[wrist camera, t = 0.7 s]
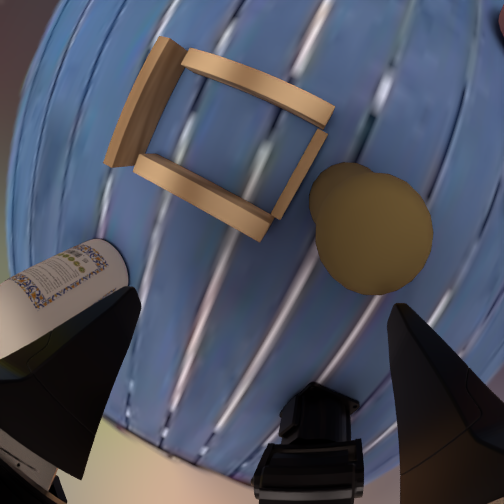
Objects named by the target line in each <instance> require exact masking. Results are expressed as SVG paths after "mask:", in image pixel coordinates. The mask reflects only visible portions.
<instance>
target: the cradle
mask: <svg viewBox="0 0 504 504" xmlns="http://www.w3.org/2000/svg"><path fill="white" fill-rule="evenodd" d="M185 67H186V68H187V69H189V70H190V71H192V72H193V73H196V74H199V75H202V76H205V77H207V78H210V79H213V80H216V81H218V82H221V83H224V84H226V85H229V86H232V87H234V88H237V89H239V90H241V91H244V92H246V93H249V94H251V95H253V96H256V97H258V98H260V99H262V100H265V101H267V102H269V103H271V104H273V105H276V106H278V107H280V108H282V109H284V110H286V111H288V112H290V113H292V114H294V115H296V116H298V117H300V118H302V119H304V120H306V121H308V122H310V123H312V124H313V125H315V126H317V127H319V128H321V129H323V130H324V128H325V126H326V124H327V122H328V121H329V119H330V117H331V115H332V113H333V111H334V108H335V106H333V105H332V104H330V103H328V102H326V101H324V100H322V99H320V98H318V97H316V96H314V95H312V94H310V93H308V92H306V91H304V90H302V89H300V88H298V87H296V86H294V85H292V84H289V83H287V82H285V81H283V80H280V79H278V78H276V77H273V76H271V75H269V74H266V73H264V72H261V71H259V70H256V69H254V68H251V67H248V66H246V65H243V64H240V63H237V62H235V61H232V60H229V59H226V58H223V57H220V56H217V55H214V54H210V53H207V52H204V51H200V50H197V49H193V48H190V49H189V50H188V51H187V50H185V49H184V48H183V47H181V46H180V45H179V44H177V43H176V42H174V41H173V40H172V39H170V38H166V37H162V36H159V37H158V39H157V41H156V43H155V44H154V46H153V48H152V50H151V52H150V54H149V55H148V57H147V59H146V61H145V63H144V65H143V67H142V69H141V71H140V73H139V75H138V77H137V79H136V81H135V83H134V85H133V88H132V90H131V92H130V94H129V96H128V99H127V101H126V103H125V106H124V108H123V110H122V113H121V115H120V118H119V120H118V123H117V125H116V128H115V131H114V133H113V136H112V139H111V141H110V144H109V147H108V150H107V153H106V156H105V159H104V162H103V163H104V164H106V165H108V166H110V167H111V168H114V167H124V166H134V165H135V167H134V170H133V172H134V173H136V174H138V175H140V176H142V177H144V178H145V179H147V180H149V181H151V182H153V183H154V184H156V185H158V186H160V187H162V188H164V189H165V190H167V191H169V192H171V193H173V194H174V195H176V196H178V197H180V198H182V199H183V200H185V201H187V202H189V203H191V204H192V205H194V206H196V207H198V208H200V209H201V210H203V211H205V212H207V213H208V214H210V215H212V216H214V217H216V218H217V219H219V220H221V221H223V222H225V223H226V224H228V225H230V226H232V227H233V228H235V229H237V230H239V231H240V232H242V233H244V234H246V235H248V236H249V237H251V238H253V239H255V240H256V241H258V242H260V241H261V240H262V238H263V237H264V235H265V234H266V232H267V230H268V229H269V227H270V225H271V223H272V221H273V220H274V218H277V219H279V220H280V219H281V218H282V216H283V214H284V212H285V211H286V209H287V207H288V205H289V203H290V202H291V200H292V198H293V196H294V195H295V193H296V191H297V189H298V187H299V186H300V184H301V182H302V180H303V179H304V177H305V175H306V173H307V171H308V170H309V168H310V166H311V164H312V162H313V161H314V159H315V157H316V155H317V153H318V152H319V150H320V148H321V146H322V144H323V143H324V141H325V139H326V137H327V135H328V134H327V133H325V132H323V131H322V130H320V129H317V131H316V133H315V134H314V136H313V138H312V140H311V142H310V143H309V145H308V147H307V149H306V151H305V152H304V154H303V156H302V158H301V160H300V161H299V163H298V165H297V167H296V169H295V171H294V172H293V174H292V176H291V178H290V180H289V181H288V183H287V185H286V187H285V189H284V190H283V192H282V194H281V196H280V198H279V200H278V201H277V203H276V205H275V207H274V209H273V210H272V212H271V214H269V213H267V212H265V211H264V210H262V209H260V208H258V207H257V206H255V205H253V204H251V203H249V202H247V201H246V200H244V199H242V198H240V197H238V196H236V195H235V194H233V193H231V192H229V191H227V190H225V189H223V188H222V187H220V186H218V185H216V184H214V183H212V182H210V181H208V180H207V179H205V178H203V177H201V176H199V175H197V174H195V173H193V172H191V171H189V170H187V169H185V168H183V167H181V166H179V165H178V164H176V163H174V162H172V161H170V160H168V159H166V158H164V157H162V156H160V155H158V154H145V152H146V150H147V147H148V145H149V142H150V140H151V137H152V135H153V133H154V130H155V128H156V126H157V124H158V121H159V119H160V117H161V115H162V112H163V110H164V108H165V106H166V104H167V102H168V100H169V98H170V96H171V94H172V92H173V89H174V88H175V86H176V84H177V82H178V80H179V78H180V76H181V74H182V72H183V70H184V68H185Z"/></svg>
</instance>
